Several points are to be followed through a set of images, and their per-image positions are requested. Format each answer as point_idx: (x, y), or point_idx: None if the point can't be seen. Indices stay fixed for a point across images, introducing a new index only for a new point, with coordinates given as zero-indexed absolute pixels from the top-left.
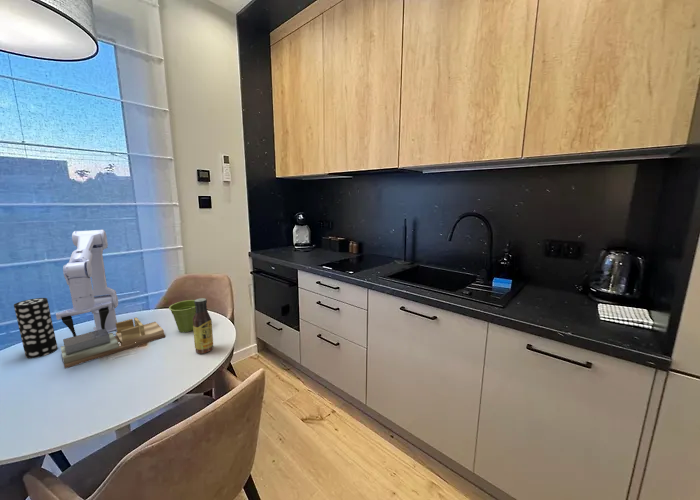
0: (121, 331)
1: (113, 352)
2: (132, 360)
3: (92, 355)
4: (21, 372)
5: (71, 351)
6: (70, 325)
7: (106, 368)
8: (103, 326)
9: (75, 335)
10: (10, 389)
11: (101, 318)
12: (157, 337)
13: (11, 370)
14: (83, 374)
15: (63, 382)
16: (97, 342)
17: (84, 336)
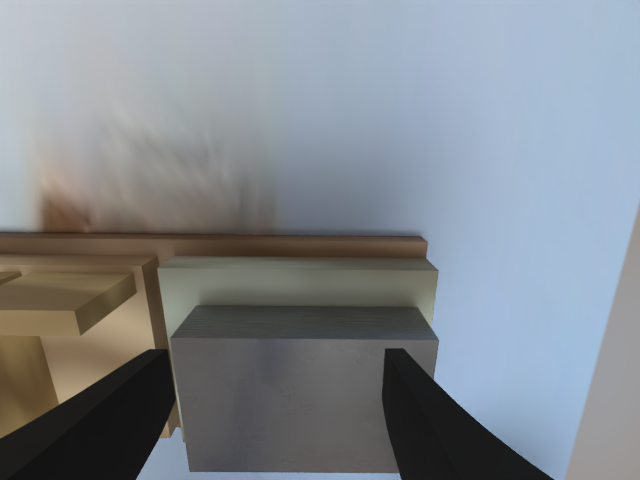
0: (74, 311)
1: (210, 236)
2: (123, 28)
3: (302, 257)
4: (551, 344)
5: (394, 313)
6: (503, 475)
7: (260, 44)
8: (133, 365)
9: (393, 354)
10: (625, 194)
11: (27, 470)
12: None
13: (569, 394)
14: (367, 72)
15: (457, 54)
16: (257, 316)
17: (313, 425)
